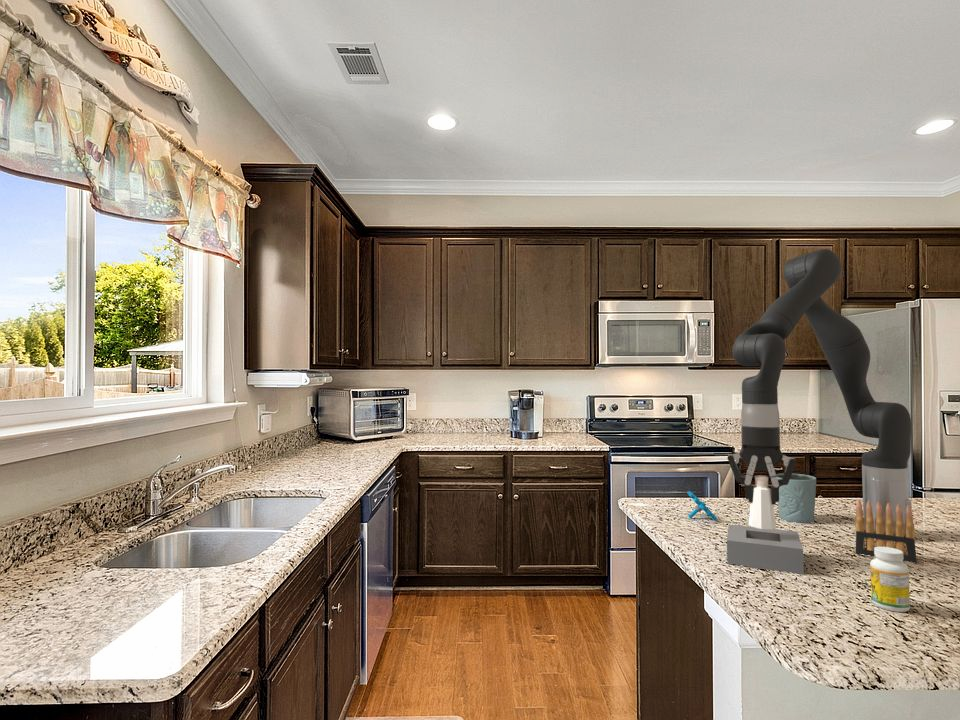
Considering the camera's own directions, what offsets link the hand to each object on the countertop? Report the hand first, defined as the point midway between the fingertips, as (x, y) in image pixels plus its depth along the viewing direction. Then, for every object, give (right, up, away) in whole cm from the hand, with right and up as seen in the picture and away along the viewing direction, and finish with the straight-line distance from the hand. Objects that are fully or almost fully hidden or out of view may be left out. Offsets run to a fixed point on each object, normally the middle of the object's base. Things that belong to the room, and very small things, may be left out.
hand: (761, 502), depth 118 cm
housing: (0, -12, -1) cm, 12 cm away
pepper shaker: (0, -5, 0) cm, 5 cm away
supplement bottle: (+9, -11, -25) cm, 29 cm away
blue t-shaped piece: (+1, -14, +34) cm, 36 cm away
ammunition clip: (+27, -12, 0) cm, 30 cm away
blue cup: (+26, -14, +32) cm, 44 cm away
